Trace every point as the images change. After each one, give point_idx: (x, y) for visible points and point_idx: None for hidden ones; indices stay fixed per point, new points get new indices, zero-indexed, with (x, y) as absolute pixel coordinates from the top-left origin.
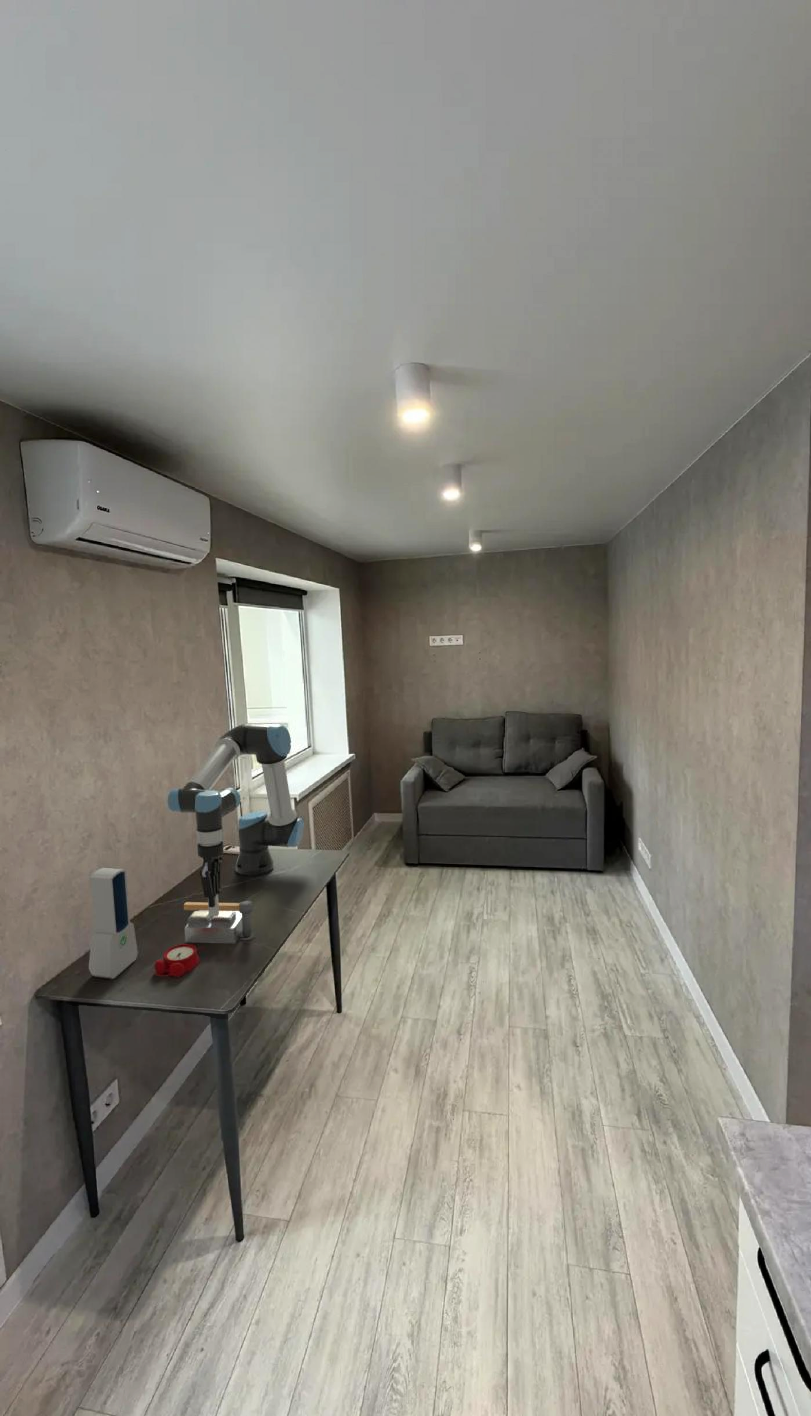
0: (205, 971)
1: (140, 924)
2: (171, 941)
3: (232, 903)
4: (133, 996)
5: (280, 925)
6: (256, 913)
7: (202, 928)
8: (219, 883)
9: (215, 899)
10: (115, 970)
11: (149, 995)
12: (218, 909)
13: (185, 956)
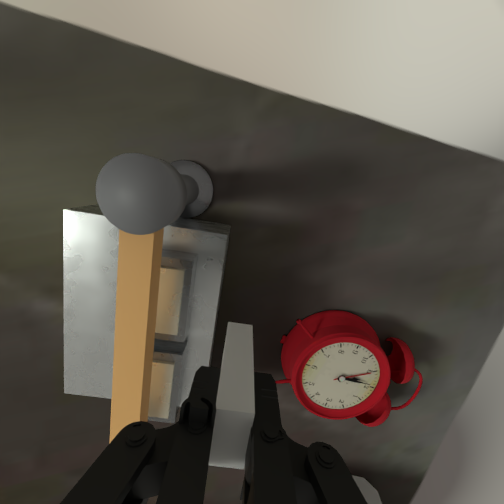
0: (381, 282)
1: None
2: None
3: (122, 276)
4: (450, 419)
5: (99, 61)
6: (2, 180)
7: (210, 351)
8: (127, 482)
9: (251, 399)
10: (362, 493)
11: (458, 388)
12: (231, 337)
13: (362, 358)
